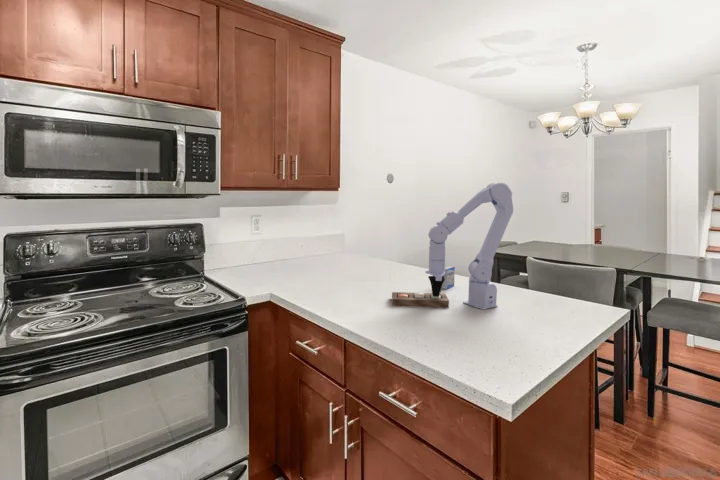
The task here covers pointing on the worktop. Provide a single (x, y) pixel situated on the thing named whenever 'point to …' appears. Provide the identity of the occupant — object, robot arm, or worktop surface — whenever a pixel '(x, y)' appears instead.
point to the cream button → (418, 295)
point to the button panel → (419, 300)
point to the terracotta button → (403, 295)
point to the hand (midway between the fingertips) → (435, 296)
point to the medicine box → (448, 277)
